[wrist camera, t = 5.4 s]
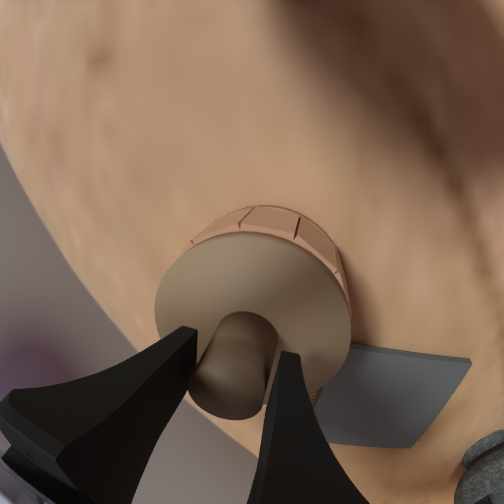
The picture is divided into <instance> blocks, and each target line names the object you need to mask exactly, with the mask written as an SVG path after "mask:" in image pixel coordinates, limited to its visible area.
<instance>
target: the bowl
mask: <svg viewBox="0 0 504 504" xmlns="http://www.w3.org/2000/svg"><path fill="white" fill-rule="evenodd" d="M239 231H251V232H261V233H267V234H272V235H275V236H279V237H282V238H285V239H287V240H290V241H292V242H294V243H296V244H299V245H300V246H302V247H303V248H305V249H307V250H308V251H310V252H311V253H313V254H314V255H315V256H316V257H318V258H319V259H320V260H321V261H322V262H323V263H324V264H325V265H326V266H327V267H328V268H329V269H330V270H331V271H332V273H333V274H334V276H335V277H336V279H337V280H338V281H339V283H340V285H341V287H342V289H343V291H344V294H345V297H346V300H347V303H348V308H349V315H350V323H351V320H352V312H351V305H350V299H349V292H348V286H347V281H346V278H345V274H344V271H343V267H342V262H341V258H340V256H339V253H338V251H337V248H336V246H335V245H334V243H333V241H332V240H331V239H330V237H329V236H328V235H327V233H326V232H325V231H324V230H323V229H322V228H321V227H320V226H319V225H317V224H316V223H315V222H314V221H312V220H311V219H309V218H308V217H306V216H304V215H302V214H301V213H298V212H296V211H293V210H291V209H287V208H283V207H279V206H271V205H258V206H251V207H246V208H243V209H239V210H237V211H235V212H232V213H230V214H228V215H227V216H225V217H223V218H220V219H217V220H216V221H214V222H213V223H212V224H210V225H209V226H208V227H207V228H205V229H204V230H203V231H202V232H200V233H199V234H198V235H197V236H196V237H194V238H193V239H192V240H191V241H190V242H189V243H188V244H187V246H186V247H185V249H184V250H183V251H182V253H181V254H180V256H179V257H178V258H177V260H178V259H179V258H180V257H181V256H182V255H183V254H184V253H186V252H187V251H188V250H189V249H191V248H192V247H193V246H195V245H196V244H198V243H200V242H202V241H203V240H206V239H208V238H211V237H213V236H216V235H220V234H224V233H229V232H239ZM177 260H176V261H177ZM176 261H175V262H176Z"/></svg>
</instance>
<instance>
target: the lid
mask: <svg viewBox="0 0 504 504" xmlns="http://www.w3.org/2000/svg"><path fill="white" fill-rule="evenodd" d="M155 321H156V325H157V330H158V333H159V336H160V338H161V339H162V338H164V337H165V336H167V335H168V334H170V333H171V332H173V331H174V330H176V329H178V328H179V327H181V326H182V325H183V326H187V327H190V328H194V329H197V330H198V341H197V365H196V367H195V369H194V371H193V373H192V374H191V376H190V378H189V380H188V385H187V387H188V392H189V394H190V396H191V398H192V399H193V401H194V402H195V403H196V404H197V405H198V406H199V407H200V408H202V409H203V410H205V411H206V412H208V413H210V414H212V415H214V416H216V417H219V418H223V419H228V420H244V419H248V418H251V417H253V416H255V415H256V414H257V413H259V411H260V410H261V408H262V405H263V404H268V400H269V396H270V392H271V388H272V384H273V380H274V377H275V373H276V369H277V365H278V362H279V358H280V354H281V350H283V351H288V352H292V353H297V354H299V355H300V357H301V366H302V371H303V376H304V380H305V385H306V388H307V392H308V395H310V394H312V393H314V392H316V391H318V390H319V389H320V388H322V387H323V386H325V385H326V384H327V383H328V382H329V381H330V380H331V379H332V378H333V377H334V376H335V375H336V374H337V372H338V371H339V370H340V368H341V367H342V365H343V363H344V361H345V359H346V357H347V354H348V351H349V347H350V342H351V323H350V315H349V308H348V303H347V300H346V297H345V294H344V291H343V289H342V287H341V285H340V283H339V281H338V280H337V279H336V277H335V276H334V274H333V273H332V271H331V270H330V269H329V268H328V267H327V266H326V265H325V264H324V263H323V262H322V261H321V260H320V259H319V258H318V257H316V256H315V255H314V254H313V253H311V252H310V251H308V250H307V249H305V248H303V247H302V246H300V245H299V244H296V243H294V242H292V241H290V240H287V239H285V238H282V237H279V236H275V235H272V234H267V233H261V232H251V231H239V232H229V233H224V234H220V235H216V236H213V237H211V238H208V239H206V240H203V241H202V242H200V243H198V244H196V245H195V246H193V247H192V248H191V249H189V250H188V251H187V252H186V253H184V254H183V255H182V256H181V257H180V258H179V259H178V260H177V261H176V262H175V263H174V264H173V265H172V266H171V267H170V268H169V269H168V271H167V272H166V274H165V275H164V277H163V278H162V280H161V283H160V285H159V287H158V290H157V294H156V299H155Z"/></svg>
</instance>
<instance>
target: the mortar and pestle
mask: <svg viewBox="0 0 504 504" xmlns="http://www.w3.org/2000/svg"><path fill="white" fill-rule="evenodd" d="M462 461H463V464H464V466H465V468H466V469H467V470H466V471H465V473H464V474H463V476H462V477H461V479H460V480H459V482H458V485H457V488H456V491H455V494H454V504H504V430H498V431H496V432H494V433H492V434H490V435H488V436H486V437H484V438H482V439H480V440H479V441H478V442H477V443H475V444H474V445H473V446H472V447H471V448H469V449H468V450H467V451H466V453H465V455H464V457H463V458H462Z"/></svg>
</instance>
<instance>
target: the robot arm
mask: <svg viewBox="0 0 504 504" xmlns="http://www.w3.org/2000/svg"><path fill="white" fill-rule="evenodd" d="M197 341H198V330H197V329H194V328H190V327H187V326H183V325H182V326H181V327H179V328H178V329H176V330H174V331H173V332H171V333H170V334H168V335H167V336H165V337H164V338H162V339H161V340H159V341H158V342H156V343H155V344H153V345H151V346H150V347H148V348H146V349H145V350H143V351H141V352H140V353H138V354H136V355H134V356H132V357H130V358H129V359H127V360H125V361H123V362H121V363H119V364H117V365H115V366H113V367H110V368H108V369H106V370H104V371H101V372H98V373H96V374H93V375H90V376H87V377H83V378H80V379H77V380H73V381H70V382H66V383H61V384H57V385H51V386H46V387H39V388H27V389H13V390H12V391H11V392H10V393H9V394H8V395H7V396H6V397H5V398H4V399H3V400H2V401H1V402H0V430H1V432H2V433H3V434H4V436H5V437H6V439H7V440H8V441H9V443H10V444H11V445H12V446H11V447H10V448H9V449H8V450H7V451H5V450H4V449H2V448H1V447H0V504H44V502H45V503H46V504H131V503H132V500H133V497H134V494H135V492H136V489H137V487H138V484H139V481H140V479H141V477H142V474H143V472H144V470H145V467H146V465H147V463H148V460H149V458H150V456H151V454H152V452H153V449H154V447H155V445H156V443H157V441H158V439H159V437H160V435H161V433H162V432H163V430H164V428H165V427H166V425H167V423H168V422H169V420H170V419H171V417H172V415H173V414H174V412H175V410H176V408H177V407H178V405H179V404H180V402H181V400H182V399H183V397H184V395H185V394H186V392H187V390H188V387H187V385H188V380H189V378H190V376H191V374H192V373H193V371H194V369H195V367H196V365H197ZM247 504H370V503H369V502H368V501H367V500H366V499H365V498H364V496H363V495H362V494H361V493H360V492H359V490H358V489H357V488H356V487H355V485H354V484H353V483H352V481H351V480H350V479H349V477H348V476H347V474H346V473H345V471H344V470H343V468H342V466H341V465H340V463H339V462H338V460H337V459H336V457H335V455H334V454H333V452H332V450H331V448H330V446H329V444H328V443H327V441H326V438H325V436H324V434H323V432H322V430H321V428H320V426H319V423H318V421H317V418H316V416H315V413H314V410H313V407H312V405H311V402H310V398H309V395H308V392H307V388H306V385H305V380H304V376H303V371H302V366H301V357H300V355H299V354H297V353H292V352H288V351H283V350H281V354H280V358H279V362H278V365H277V369H276V373H275V377H274V380H273V384H272V388H271V392H270V396H269V400H268V404H267V408H266V412H265V418H264V425H263V432H262V439H261V446H260V452H259V459H258V465H257V469H256V473H255V477H254V480H253V484H252V487H251V491H250V495H249V498H248V501H247Z"/></svg>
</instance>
